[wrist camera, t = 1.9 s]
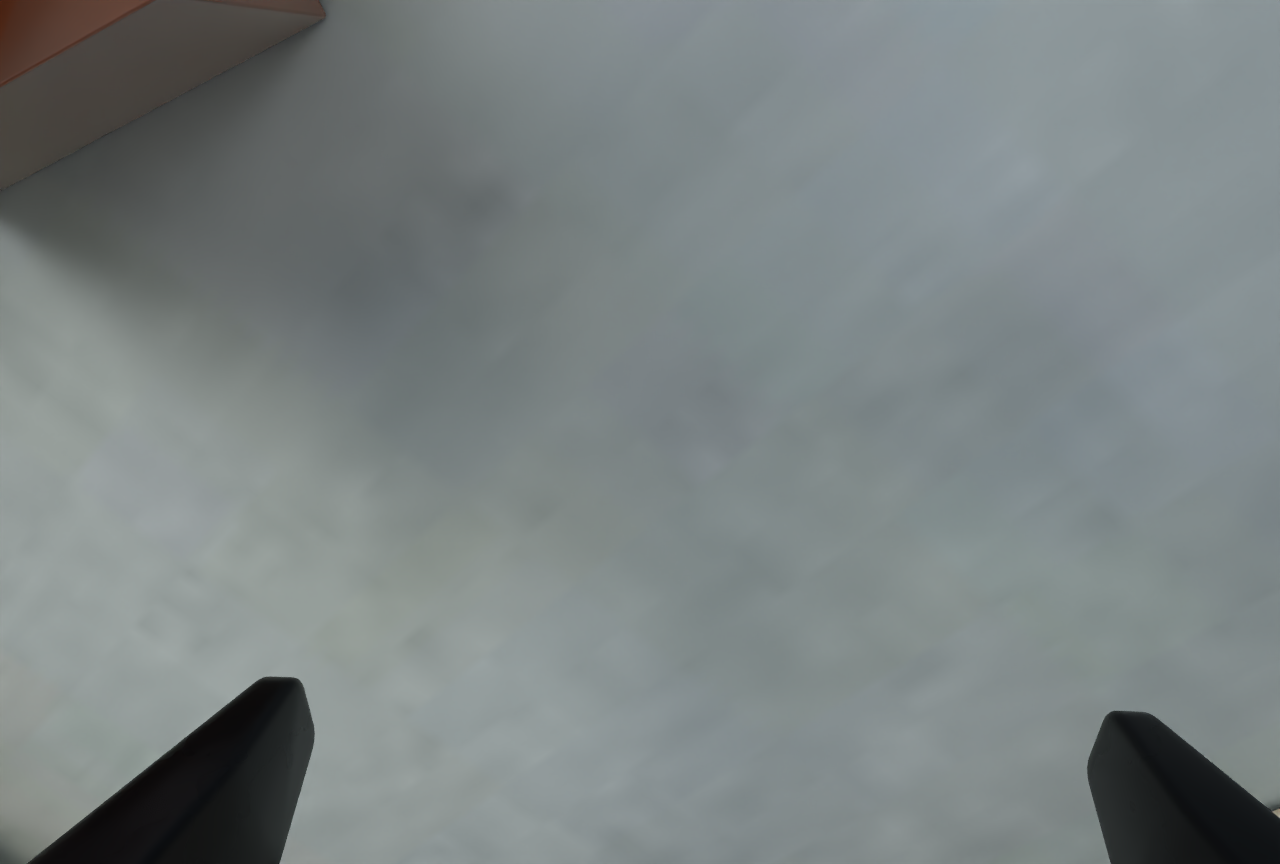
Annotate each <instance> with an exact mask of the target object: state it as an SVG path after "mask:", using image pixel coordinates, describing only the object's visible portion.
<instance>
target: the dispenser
mask: <svg viewBox="0 0 1280 864" xmlns="http://www.w3.org/2000/svg"><path fill="white" fill-rule="evenodd" d="M325 17H326V14H325V12H324V10H323V8H322V6H321V4H320V2H319V0H0V191H2V190H4V189H6V188H8V187H10V186H11V185H13V184H15V183H17V182H19V181H21V180H23V179H25V178H26V177H28V176H30V175H32V174H34V173H36V172H38V171H39V170H41V169H43V168H45V167H47V166H49V165H51V164H53V163H54V162H56V161H58V160H60V159H62V158H64V157H66V156H68V155H69V154H71V153H73V152H75V151H77V150H79V149H81V148H83V147H84V146H86V145H88V144H90V143H92V142H94V141H96V140H98V139H99V138H101V137H103V136H105V135H107V134H109V133H111V132H113V131H114V130H116V129H118V128H120V127H122V126H124V125H126V124H128V123H129V122H131V121H133V120H135V119H137V118H139V117H141V116H143V115H144V114H146V113H148V112H150V111H152V110H154V109H156V108H158V107H159V106H161V105H163V104H165V103H167V102H169V101H171V100H172V99H174V98H176V97H178V96H180V95H182V94H184V93H186V92H187V91H189V90H191V89H193V88H195V87H197V86H199V85H201V84H202V83H204V82H206V81H208V80H210V79H212V78H214V77H216V76H217V75H219V74H221V73H223V72H225V71H227V70H229V69H231V68H232V67H234V66H236V65H238V64H240V63H242V62H244V61H246V60H247V59H249V58H251V57H253V56H255V55H257V54H259V53H261V52H262V51H264V50H266V49H268V48H270V47H272V46H274V45H276V44H277V43H279V42H281V41H283V40H285V39H287V38H289V37H291V36H292V35H294V34H296V33H298V32H300V31H302V30H304V29H305V28H307V27H309V26H311V25H313V24H315V23H317V22H319V21H320V20H322V19H324V18H325Z"/></svg>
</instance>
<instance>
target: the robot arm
mask: <svg viewBox="0 0 1280 864" xmlns="http://www.w3.org/2000/svg"><path fill="white" fill-rule="evenodd" d="M314 735H315V733H314V724H313V721H312V717H311V713H310V709H309V705H308V702H307V698H306V694H305V690H304V687H303V684H302V683H301V681H300V680H299V679H297V678H292V677H264V678H262V679H260V680H258V681H256V682H255V683H254V684H252V685H251V686H250V687H249V688H247V689H246V690H245V691H244V692H242V693H241V694H240V695H239V696H237V697H236V698H235V699H234V700H232V701H231V702H230V703H228V704H227V705H226V706H225V707H223V708H222V709H221V710H220V711H218V712H217V713H216V714H215V715H213V716H212V717H211V718H210V719H208V720H207V721H206V722H205V723H203V724H202V725H201V726H200V727H198V728H197V729H196V730H194V731H193V732H192V733H191V734H189V735H188V736H187V737H186V738H184V739H183V740H182V741H181V742H179V743H178V744H177V745H176V746H174V747H173V748H172V749H171V750H169V751H168V752H167V753H166V754H164V755H163V756H162V757H160V758H159V759H158V760H157V761H155V762H154V763H153V764H152V765H150V766H149V767H148V768H147V769H145V770H144V771H143V772H142V773H140V774H139V775H138V776H137V777H135V778H134V779H133V780H132V781H130V782H129V783H128V784H126V785H125V786H124V787H123V788H121V789H120V790H119V791H118V792H116V793H115V794H114V795H113V796H111V797H110V798H109V799H108V800H106V801H105V802H104V803H103V804H101V805H100V806H99V807H98V808H96V809H95V810H94V811H92V812H91V813H90V814H89V815H87V816H86V817H85V818H84V819H82V820H81V821H80V822H79V823H77V824H76V825H75V826H74V827H72V828H71V829H70V830H69V831H67V832H66V833H65V834H64V835H62V836H61V837H60V838H58V839H57V840H56V841H55V842H53V843H52V844H51V845H50V846H48V847H47V848H46V849H45V850H43V851H42V852H41V853H40V854H38V855H37V856H36V857H35V858H33V859H32V860H31V861H30V862H28V863H27V864H279V863H280V860H281V857H282V853H283V850H284V846H285V843H286V839H287V836H288V833H289V829H290V826H291V822H292V819H293V815H294V812H295V808H296V805H297V801H298V798H299V794H300V791H301V787H302V784H303V781H304V777H305V774H306V770H307V767H308V763H309V760H310V756H311V753H312V749H313V744H314ZM1087 774H1088V781H1089V786H1090V789H1091V793H1092V797H1093V800H1094V804H1095V807H1096V811H1097V815H1098V818H1099V822H1100V826H1101V829H1102V833H1103V837H1104V840H1105V844H1106V848H1107V851H1108V855H1109V859H1110V862H1111V864H1280V818H1279V817H1278V816H1277V815H1275V814H1274V813H1273V812H1272V811H1271V810H1269V809H1268V808H1267V807H1266V806H1264V805H1263V804H1262V803H1261V802H1259V801H1258V800H1257V799H1256V798H1255V797H1253V796H1252V795H1251V794H1250V793H1248V792H1247V791H1246V790H1245V789H1244V788H1242V787H1241V786H1240V785H1239V784H1237V783H1236V782H1235V781H1234V780H1232V779H1231V778H1230V777H1229V776H1228V775H1226V774H1225V773H1224V772H1223V771H1221V770H1220V769H1219V768H1218V767H1216V766H1215V765H1214V764H1213V763H1212V762H1210V761H1209V760H1208V759H1207V758H1205V757H1204V756H1203V755H1202V754H1201V753H1199V752H1198V751H1197V750H1196V749H1194V748H1193V747H1192V746H1191V745H1189V744H1188V743H1187V742H1186V741H1185V740H1183V739H1182V738H1181V737H1180V736H1178V735H1177V734H1176V733H1175V732H1173V731H1172V730H1171V729H1170V728H1169V727H1167V726H1166V725H1165V724H1164V723H1162V722H1161V721H1160V720H1159V719H1157V718H1156V717H1155V716H1153V715H1151V714H1149V713H1146V712H1132V711H1112V712H1110V713H1109V714H1108V715H1106V717H1105V719H1104V720H1103V723H1102V726H1101V728H1100V731H1099V733H1098V736H1097V738H1096V741H1095V744H1094V746H1093V749H1092V751H1091V754H1090V757H1089V760H1088V766H1087Z"/></svg>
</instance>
